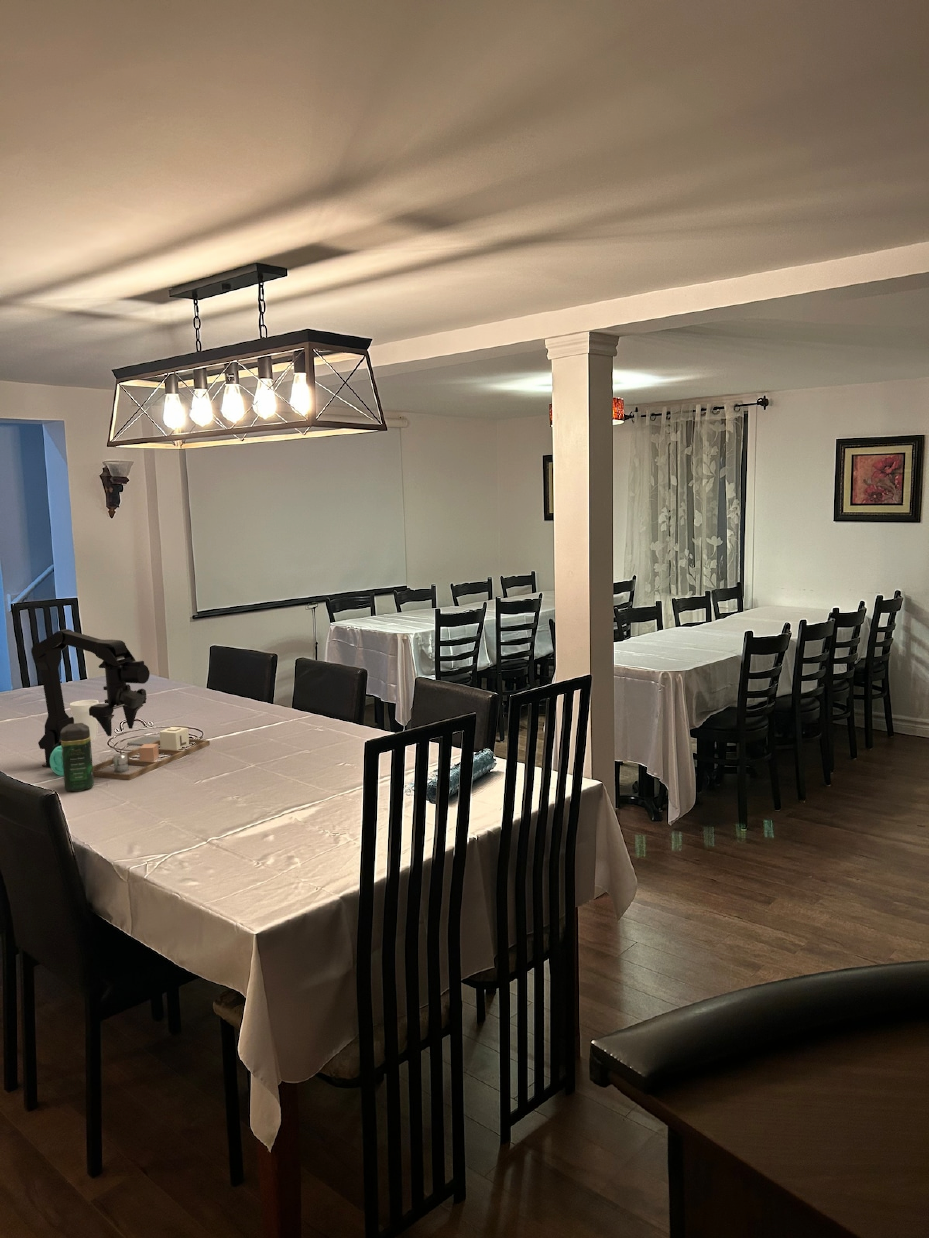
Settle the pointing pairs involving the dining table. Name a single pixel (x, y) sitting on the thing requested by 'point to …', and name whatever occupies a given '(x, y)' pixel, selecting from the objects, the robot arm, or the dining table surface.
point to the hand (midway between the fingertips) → (120, 732)
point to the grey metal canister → (120, 763)
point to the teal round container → (57, 761)
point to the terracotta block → (149, 752)
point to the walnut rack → (149, 764)
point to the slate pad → (144, 740)
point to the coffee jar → (77, 757)
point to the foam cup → (85, 715)
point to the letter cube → (174, 738)
